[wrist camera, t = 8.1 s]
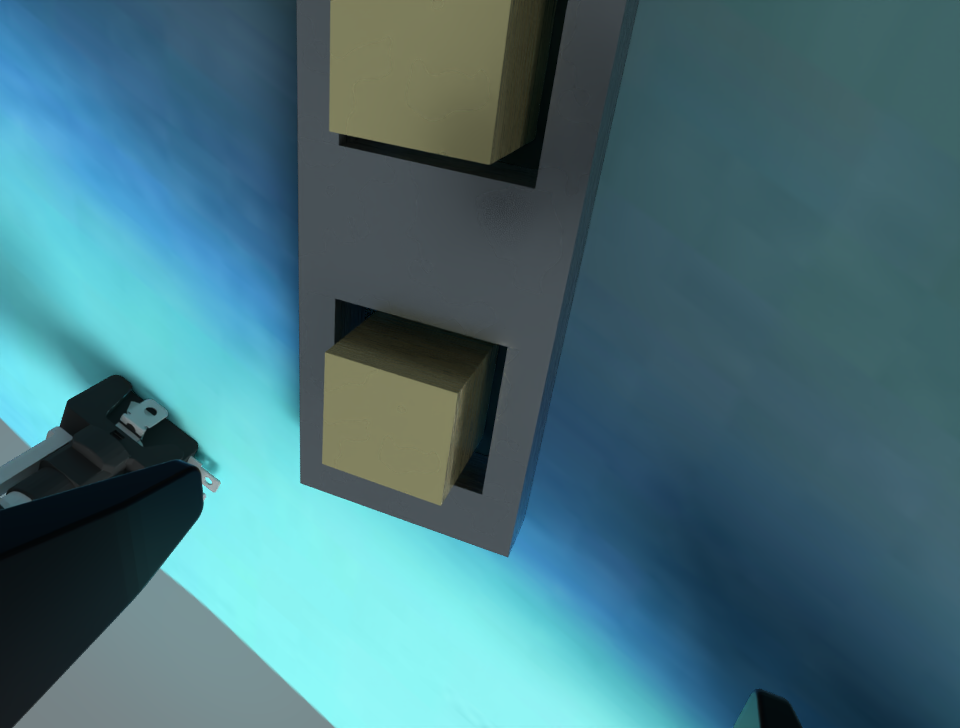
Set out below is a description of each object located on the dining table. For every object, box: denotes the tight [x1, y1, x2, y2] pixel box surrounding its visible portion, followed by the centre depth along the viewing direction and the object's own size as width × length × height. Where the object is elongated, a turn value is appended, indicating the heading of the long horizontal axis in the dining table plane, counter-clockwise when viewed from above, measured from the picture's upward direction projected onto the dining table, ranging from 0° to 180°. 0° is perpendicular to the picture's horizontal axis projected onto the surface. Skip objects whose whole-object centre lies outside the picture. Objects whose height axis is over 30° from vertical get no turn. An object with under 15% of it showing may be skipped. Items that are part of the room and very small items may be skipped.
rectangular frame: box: [297, 0, 639, 557], centre depth 19 cm, size 20×8×2 cm, turn 172°
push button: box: [0, 375, 221, 510], centre depth 24 cm, size 7×5×10 cm
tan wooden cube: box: [322, 310, 499, 506], centre depth 20 cm, size 4×4×4 cm
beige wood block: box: [329, 0, 557, 165], centre depth 16 cm, size 4×4×4 cm
